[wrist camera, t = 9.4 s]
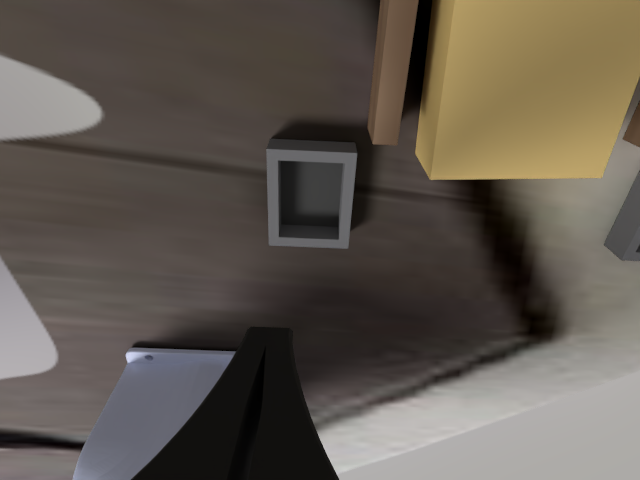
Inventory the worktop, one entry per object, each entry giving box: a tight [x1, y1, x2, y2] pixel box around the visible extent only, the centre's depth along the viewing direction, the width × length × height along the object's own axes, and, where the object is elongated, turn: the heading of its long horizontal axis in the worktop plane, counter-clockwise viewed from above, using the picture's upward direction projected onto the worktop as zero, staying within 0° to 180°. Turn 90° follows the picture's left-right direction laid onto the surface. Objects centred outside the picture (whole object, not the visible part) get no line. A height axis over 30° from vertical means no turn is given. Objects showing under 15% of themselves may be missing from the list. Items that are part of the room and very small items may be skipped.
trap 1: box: [266, 139, 357, 249], centre depth 20 cm, size 4×5×2 cm
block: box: [415, 0, 640, 180], centre depth 16 cm, size 7×7×4 cm
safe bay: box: [367, 0, 640, 147], centre depth 16 cm, size 13×8×2 cm, turn 87°
